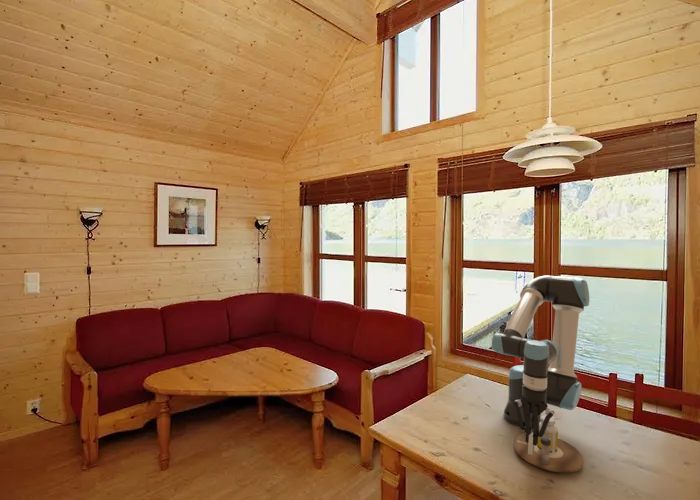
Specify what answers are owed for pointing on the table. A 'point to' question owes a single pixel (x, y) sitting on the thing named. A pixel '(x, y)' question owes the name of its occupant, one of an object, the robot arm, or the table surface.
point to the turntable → (550, 455)
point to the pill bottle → (549, 434)
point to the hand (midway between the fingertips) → (531, 452)
